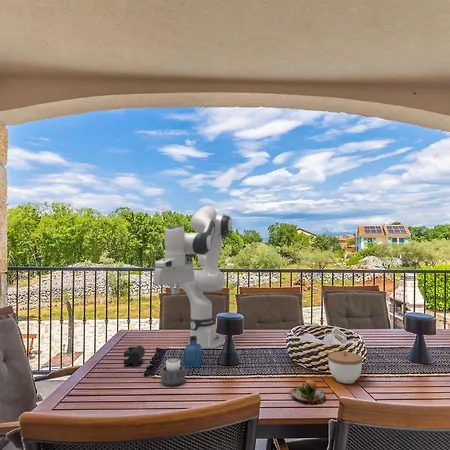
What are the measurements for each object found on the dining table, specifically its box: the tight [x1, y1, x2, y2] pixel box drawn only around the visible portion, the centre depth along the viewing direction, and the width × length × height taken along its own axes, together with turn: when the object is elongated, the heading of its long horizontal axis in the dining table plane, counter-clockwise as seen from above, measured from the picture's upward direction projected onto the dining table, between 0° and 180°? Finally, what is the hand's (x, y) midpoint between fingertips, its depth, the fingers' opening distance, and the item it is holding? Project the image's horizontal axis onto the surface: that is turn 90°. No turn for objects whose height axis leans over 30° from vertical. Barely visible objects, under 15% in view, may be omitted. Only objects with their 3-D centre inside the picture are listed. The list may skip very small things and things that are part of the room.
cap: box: [165, 357, 181, 372], centre depth 143 cm, size 5×5×5 cm
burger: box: [289, 376, 326, 406], centre depth 128 cm, size 12×12×8 cm
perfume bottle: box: [183, 335, 204, 368], centre depth 163 cm, size 6×6×12 cm
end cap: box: [123, 345, 146, 368], centre depth 165 cm, size 10×7×7 cm
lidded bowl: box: [327, 350, 363, 384], centre depth 144 cm, size 13×13×11 cm
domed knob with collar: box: [160, 364, 186, 388], centre depth 142 cm, size 9×9×5 cm
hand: (175, 293), depth 162 cm, fingers closed
